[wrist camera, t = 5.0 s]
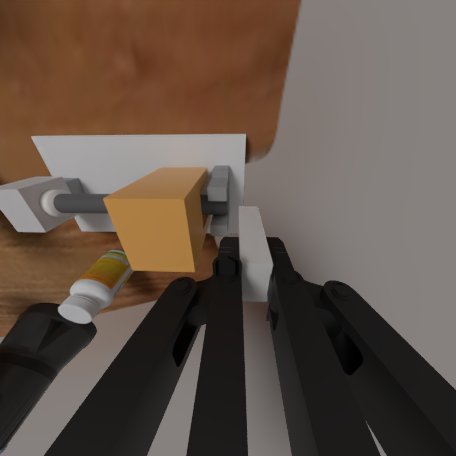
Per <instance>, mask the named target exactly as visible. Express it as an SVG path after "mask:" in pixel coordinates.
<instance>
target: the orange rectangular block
mask: <svg viewBox="0 0 456 456" xmlns="http://www.w3.org/2000/svg"><path fill="white" fill-rule="evenodd" d="M207 180H208V169H207V167H161V168H159V169H157V170H155V171H153V172H152V173H150V174H148V175H146V176H144V177H142V178H140V179H138V180H137V181H135V182H133V183H131V184H129V185H127V186H125V187H123V188H121V189H120V190H118V191H116V192H114V193H112V194H110V195H108V196H106V197H105V198H103V201H104V203H105V206H106V208H107V210H108V213H109V215H110V218H111V220H112V223H113V225H114V227H115V230H116V232H117V235H118V237H119V239H120V242H121V244H122V247H123V249H124V251H125V254H126V256H127V259H128V261H129V263H130V266H131V268H132V270H134V271H170V272H195V271H196V267H197V264H198V260H199V257H200V253H201V250H202V246H203V243H204V240H205V236H206V233H207V229H208V226H209V222H210V219H211V215H202V210H201V200H200V192H201V191H202V189H203V187H204V185H205V183H206V182H207Z"/></svg>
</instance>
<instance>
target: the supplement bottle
mask: <svg viewBox="0 0 456 456" xmlns="http://www.w3.org/2000/svg"><path fill="white" fill-rule="evenodd" d="M133 272H134V270H132V268H131V266H130V263H129V261H128V259H127V256H126V254H125V252H124V251H120V250H110V251H108V252H106V253H105V254H104V255H103V256H102V257H101V258H100V259H99V260H98V261H97V262H96V263H95V264H94V265H93V266H92V267H91V268H90V269H89V270H87V271H86V272H85V273H84V274H83V275H82V276H81V277H80V278H79V279H78V280H77V281H76V282H75V283H74V284H73V285H72V287H71V289H70V295H71V296H69V297H68V298H67V299H66V300H65V301H64V302H63V303H62V304H61V305H60V306H59V307H58V312H59V313H60V314H61V315H62V316H63V317H64V318H66V319H68V320H70V321H72V322H75V323H81V324H86V323H89V322H91V321H92V320H93V318H94V317H95V316H96V315H97V314H98V311H99V309H103V308H105V307H107V306H109V305H110V304H111V303H112V301H113V300H114V299H115V297H116V296H117V295H118V293H119V292H120V290H121V289H122V288H123V286H124V285H125V283H126V282H127V281H128V279H129V278H130V276H131V275H132V274H133Z"/></svg>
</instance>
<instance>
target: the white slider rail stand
mask: <svg viewBox="0 0 456 456" xmlns="http://www.w3.org/2000/svg"><path fill="white" fill-rule="evenodd" d="M31 138H32V140H33V142H34V143H35V145H36V147H37V149H38V151H39V153H40V155H41V156H42V158H43V160H44V162H45V164H46V166H47V168H48V169H49V171H50V173H51V175H52V177H33V178H29V179H24V180H20V181H16V182H12V183H8V184H4V185H0V210H1V211H2V212H3V213H4V215H5V216H6V217H7V219H8V220H9V221H10V223H11V224H12V225H13V226H14V228H15V229H16V230H17V232H48V231H50V230H51V229H53V228H55V227H57V226H59V225H61V224H62V223H64V222H66V221H68V220H70V219H71V218H73V217H74V218H75V219H76V221H77V223H78V225H79V227H80V229H81V231H99V232H116V230H115V227H114V225H113V223H112V220H111V218H110V215H109V213H108V210H107V208H106V206H105V203H104V201H103V198H105V197H106V196H108V195H110V194H112V193H114V192H116V191H118V190H120V189H121V188H123V187H125V186H127V185H129V184H131V183H133V182H135V181H137V180H138V179H140V178H142V177H144V176H146V175H148V174H150V173H152V172H153V171H155V170H157V169H159V168H161V167H207V169H208V180H207V182H206V183H205V185H204V187H203V189H202V191H201V192H200V200H201V210H202V215H211V219H210V222H209V226H208V229H207V233H211V236H227V234H238V215H239V206H243V197H244V171H245V147H246V134H171V135H66V136H31Z"/></svg>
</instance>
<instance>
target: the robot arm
mask: <svg viewBox="0 0 456 456" xmlns="http://www.w3.org/2000/svg"><path fill="white" fill-rule="evenodd" d="M267 296H268V301H269V306H268V312H267V319H266V321H268V320H269V321H270V327H271V333H272V338H273V345H274V351H275V357H276V363H277V369H278V374H279V381H280V386H281V392H282V399H283V405H284V411H285V417H286V423H287V429H288V434H289V441H290V447H291V453H292V456H381V455H380V453H379V451H378V449H377V446H376V444H375V442H374V439H373V437H372V435H371V432H370V430H369V428H368V426H367V423H368V425H369V427H370V428H371V430H372V432H373V433H374V435H375V437H376V438H377V440H378V442H379V443H380V445H381V447H382V448H383V450H384V452H385V453H386V455H387V456H456V390H455V389H454V388H453V387H452V386H451V385H450V384H449V383H448V382H447V381H446V380H445V379H444V378H443V377H442V376H441V375H440V374H439V373H438V372H437V371H436V370H435V369H434V368H433V367H432V366H431V365H430V364H429V363H428V362H427V361H426V360H425V359H424V358H423V357H421V355H420V354H419V353H418V352H417V351H416V350H415V349H414V348H413V347H412V346H411V345H409V343H408V342H407V341H406V340H405V339H403V338H402V337H401V336H400V335H399V334H398V333H397V332H396V331H395V330H394V329H393V328H392V327H391V326H390V325H389V324H388V323H387V322H386V321H385V320H384V319H383V318H382V317H381V316H380V315H379V314H378V313H377V312H376V311H375V310H374V309H373V308H372V307H371V306H370V305H369V304H368V303H367V302H366V301H365V300H364V299H363V298H362V297H361V296H360V295H359V294H358V293H357V292H356V291H355V290H353V289H352V288H351V287H350V286H348V285H347V284H345V283H342V282H339V281H328V282H326V283H325V284H324V286H321V285H317V284H314V283H310V282H308V281H305V280H304V279H303V278H302V276H301V275H300V274H299V273H298V272H296V271H294V268H293V266H292V263H291V261H290V258H289V256H288V253H287V251H286V249H285V246H284V243H283V242H282V241H281V240H280V239H279V238H278V237H266V236H265V232H264V228H263V225H262V221H261V217H260V214H259V209H258V206H239V215H238V237H224V238H223V239H222V240H221V242H220V248H219V254H218V257H217V258H216V259H214V261H213V275H212V276H211V277H210V278H208V279H206V280H202V281H198V282H195V280H194V279H192V278H190V277H181V278H178V279H176V280H174V281H172V282H171V283H170V284H169V285H168V287H167V288H166V290H165V291H164V292H163V294H162V295H161V296H160V298H159V299H158V300H157V302H156V303H155V305H154V306H153V307H152V309H151V310H150V311H149V313H148V314H147V316H146V317H145V318H144V320H143V321H142V322H141V324H140V325H139V326H138V328H137V329H136V331H135V332H134V333H133V335H132V336H131V338H130V339H129V340H128V341H127V343H126V344H125V346H124V347H123V349H122V350H121V351H120V353H119V354H118V355H117V357H116V358H115V359H114V361H113V362H112V363H111V365H110V366H109V367H108V369H107V370H106V372H105V373H104V374H103V376H102V377H101V379H100V380H99V381H98V382H97V384H96V385H95V387H94V388H93V389H92V391H91V392H90V393H89V395H88V396H87V397H86V399H85V400H84V402H83V403H82V404H81V406H80V407H79V409H78V410H77V411H76V413H75V414H74V415H73V417H72V418H71V419H70V421H69V422H68V423H67V425H66V426H65V428H64V429H63V430H62V432H61V433H60V434H59V436H58V437H57V438H56V440H55V441H54V443H53V444H52V445H51V447H50V448H49V449H48V451H47V452H46V453H45V455H44V456H147V454H148V451H149V449H150V447H151V444H152V442H153V439H154V437H155V435H156V433H157V430H158V428H159V425H160V423H161V421H162V418H163V416H164V413H165V411H166V409H167V406H168V404H169V401H170V399H171V397H172V394H173V392H174V390H175V387H176V385H177V382H178V380H179V378H180V375H181V373H182V370H183V368H184V365H185V363H186V361H187V359H188V356H189V353H190V351H191V349H192V347H193V344H194V341H195V339H196V337H197V334H198V332H199V330H200V328H201V325H204V324H206V330H205V337H204V343H203V349H202V356H201V362H200V369H199V376H198V382H197V389H196V396H195V403H194V409H193V416H192V422H191V429H190V435H189V442H188V449H187V455H186V456H248V445H247V418H246V417H247V416H246V389H245V361H244V333H243V308H242V307H243V306H242V301H252V302H267ZM59 306H60V305H56V304H49V303H38V304H34V305H32V306H30V307H29V308H28V309H27V310H26V311H24V312H23V313H22V314H21V315H20V316H19V317H18V319H17V321H16V323H15V324H14V326H13V327H12V328H11V330H10V331H9V332H8V334H7V335H6V336H5V338H4V339H3V341H2V342H1V344H0V454H1V453H2V452H3V451H4V450H5V448H6V447H7V444H8V443H9V442H10V440H11V439H12V437H13V436H14V435H15V433H16V432H17V430H18V429H19V428H20V426H21V425H22V423H23V422H24V420H25V419H26V418H27V416H28V415H29V414H30V412H31V411H32V409H33V408H34V407H35V405H36V404H37V402H38V401H39V400H40V398H41V397H42V395H43V394H44V393H45V391H46V390H47V389H48V387H49V385H50V384H51V383H52V381H53V380H54V379H55V377H56V376H57V374H58V373H59V372H60V371H61V370H62V369H63V368H64V367H65V366H66V365H67V364H68V363H69V362H70V361H71V360H72V359H73V358H74V357H75V356H76V355H77V354H78V353H79V352H80V351H81V350H82V349H83V348H85V347H86V346H87V345H88V344H89V343H90V342H91V341H92V339H93V338H94V336H95V335H96V332H97V329H96V327H95V325H94V324H93V323H92V322H89V323H86V324H81V323H75V322H72V321H70V320H68V319H66V318H64V317H63V316H62V315H61V314H60V313H59V312H58V307H59ZM364 418H365V419H364ZM365 420H366V421H365ZM366 422H367V423H366Z"/></svg>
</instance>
